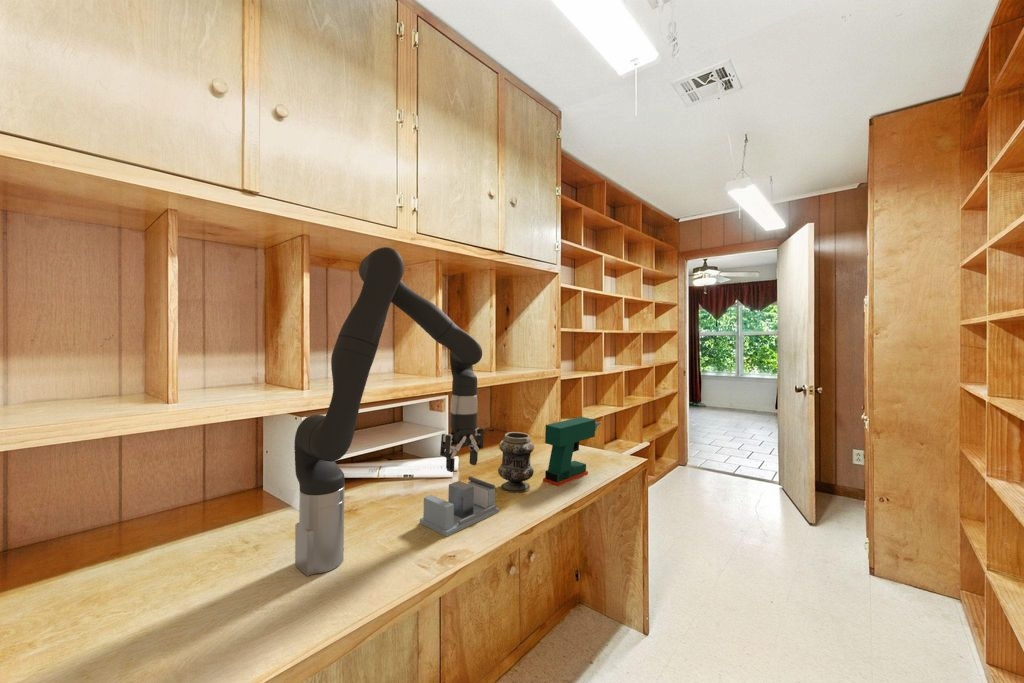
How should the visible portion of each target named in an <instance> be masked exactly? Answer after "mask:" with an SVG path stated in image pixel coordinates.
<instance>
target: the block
mask: <svg viewBox="0 0 1024 683" xmlns="http://www.w3.org/2000/svg"><path fill="white" fill-rule="evenodd" d="M447 502H449V503H452V504H454V515H455V516H458V517H460V518H462V519H464V518H466V517H468V516H470V515H472V514H473V502H474V486H472V485H469V484H468V483H466V482H464V481H461V480H458V481H455V482H452V483H449V484H448V501H447Z"/></svg>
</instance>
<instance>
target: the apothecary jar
mask: <svg viewBox="0 0 1024 683" xmlns="http://www.w3.org/2000/svg"><path fill="white" fill-rule="evenodd" d="M498 448H499V450H500V451H501V452H502V457H501V458H502V459H501V463H500V465H499V466H498V467H497V473H498V475H499V476H500V477H501V478H502V479H503V480H506V481H505V482H504V483H501V485H500V488H501V490H503V491H504V492H507V493H513V494H520V493H527V492H528V491H529V490H530V489H531V486H530V484H529V483H528V482H526V481H528V480H530V479H531V478H532V477H533V475H534V474H535V473H534V472H535V471H534V468H533V466H532V465H531V455H532V453H533V452H534V450H535V444H534V443H533V441H531V436H530V434H528V433H525V432H520V431H510V432H509V431H508V432H506V433H505V434H504V437H503V440H501V441H500V442H499V446H498Z"/></svg>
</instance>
